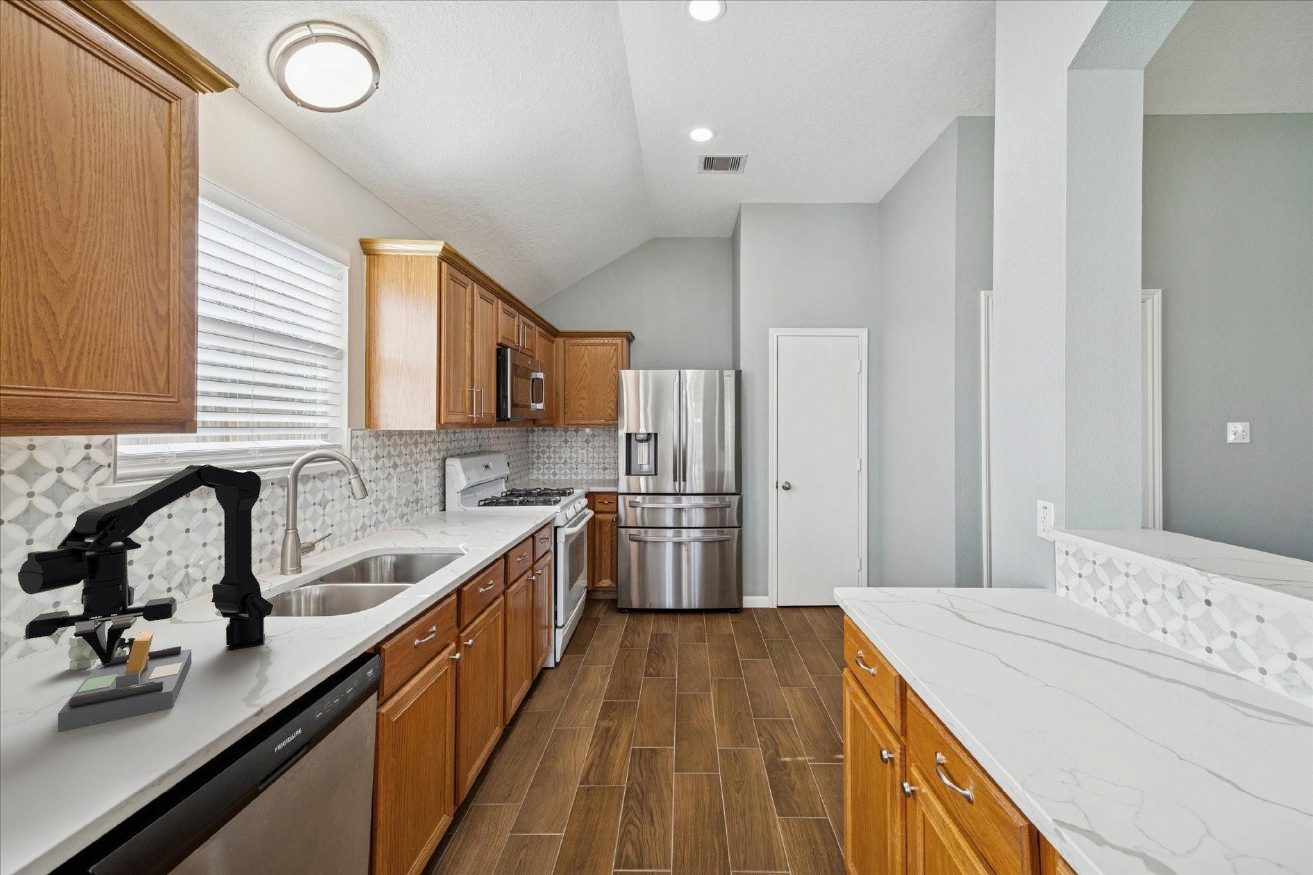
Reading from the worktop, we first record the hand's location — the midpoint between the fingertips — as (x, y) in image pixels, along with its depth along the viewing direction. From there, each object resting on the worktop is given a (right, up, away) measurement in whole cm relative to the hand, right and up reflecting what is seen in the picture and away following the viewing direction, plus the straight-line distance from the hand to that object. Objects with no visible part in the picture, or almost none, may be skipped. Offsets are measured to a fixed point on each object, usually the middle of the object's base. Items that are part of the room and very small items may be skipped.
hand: (107, 663), depth 99 cm
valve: (-15, -7, +13) cm, 20 cm away
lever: (+3, -3, +2) cm, 5 cm away
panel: (+3, -6, +2) cm, 7 cm away
